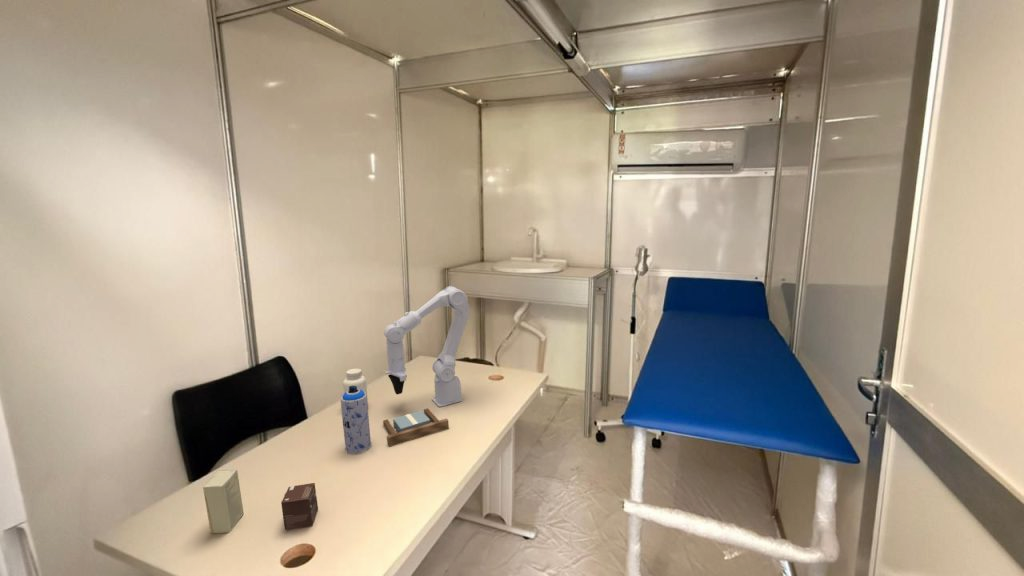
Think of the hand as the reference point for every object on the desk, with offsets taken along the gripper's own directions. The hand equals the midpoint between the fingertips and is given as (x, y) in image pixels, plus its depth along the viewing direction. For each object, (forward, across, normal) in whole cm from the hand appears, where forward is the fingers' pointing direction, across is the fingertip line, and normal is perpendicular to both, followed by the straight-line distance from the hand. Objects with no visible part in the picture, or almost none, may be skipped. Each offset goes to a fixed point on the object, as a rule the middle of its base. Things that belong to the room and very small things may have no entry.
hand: (398, 393), depth 151 cm
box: (+7, +41, -37) cm, 56 cm away
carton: (+7, +15, 0) cm, 16 cm away
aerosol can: (+7, +17, -18) cm, 26 cm away
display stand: (+7, +15, 0) cm, 16 cm away
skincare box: (+7, +33, -52) cm, 62 cm away
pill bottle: (+7, -10, -13) cm, 18 cm away
